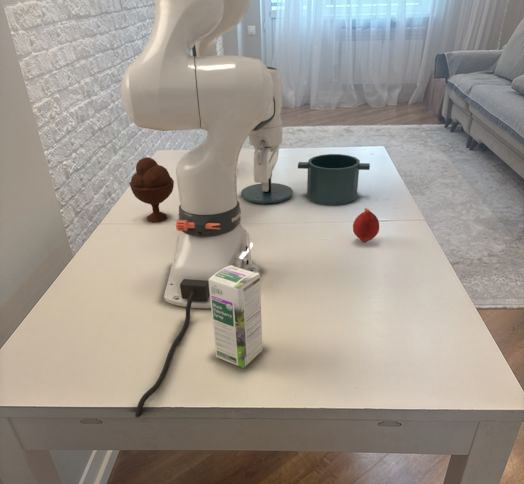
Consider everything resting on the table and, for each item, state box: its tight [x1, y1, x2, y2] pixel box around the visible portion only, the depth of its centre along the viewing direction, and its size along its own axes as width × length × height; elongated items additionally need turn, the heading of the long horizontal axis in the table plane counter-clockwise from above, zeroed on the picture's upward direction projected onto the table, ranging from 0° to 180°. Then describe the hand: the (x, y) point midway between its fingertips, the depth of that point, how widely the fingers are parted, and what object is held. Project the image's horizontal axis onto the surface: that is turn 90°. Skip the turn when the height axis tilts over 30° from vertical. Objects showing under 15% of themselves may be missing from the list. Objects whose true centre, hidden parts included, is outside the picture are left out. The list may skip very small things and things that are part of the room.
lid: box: [240, 178, 294, 204], centre depth 137 cm, size 15×15×5 cm
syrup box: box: [209, 265, 263, 369], centre depth 76 cm, size 6×6×14 cm
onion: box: [352, 207, 380, 243], centre depth 110 cm, size 6×6×8 cm
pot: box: [297, 153, 371, 206], centre depth 134 cm, size 14×19×10 cm
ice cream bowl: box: [128, 156, 175, 224], centre depth 123 cm, size 11×11×15 cm
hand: (266, 188), depth 137 cm, fingers closed on lid, 2 cm apart
